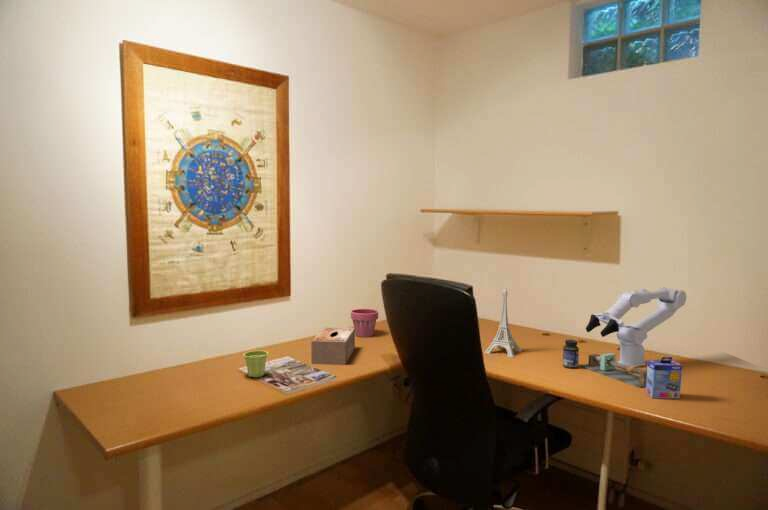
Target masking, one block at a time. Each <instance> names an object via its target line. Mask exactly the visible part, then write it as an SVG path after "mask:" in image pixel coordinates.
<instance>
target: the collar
mask: <svg viewBox="0 0 768 510" xmlns="http://www.w3.org/2000/svg"><path fill="white" fill-rule="evenodd" d="M600 357H601V362H600V363H601V364H600V369H601V370H604V371H605V370H611V369H615V368H616V367H614V366H611V365H608V364H607V359H609V360H612V361H615V362H616V357H617V356H616V353H613V352H610V353H603V354H600Z"/></svg>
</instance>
